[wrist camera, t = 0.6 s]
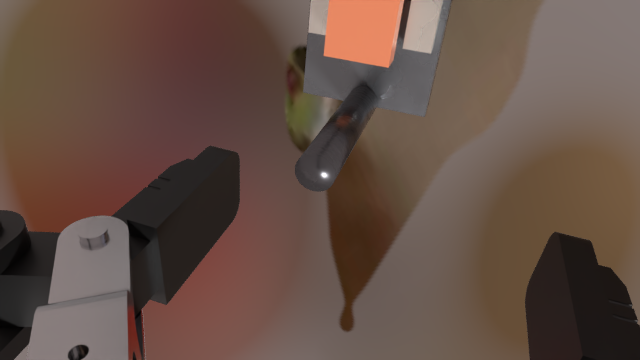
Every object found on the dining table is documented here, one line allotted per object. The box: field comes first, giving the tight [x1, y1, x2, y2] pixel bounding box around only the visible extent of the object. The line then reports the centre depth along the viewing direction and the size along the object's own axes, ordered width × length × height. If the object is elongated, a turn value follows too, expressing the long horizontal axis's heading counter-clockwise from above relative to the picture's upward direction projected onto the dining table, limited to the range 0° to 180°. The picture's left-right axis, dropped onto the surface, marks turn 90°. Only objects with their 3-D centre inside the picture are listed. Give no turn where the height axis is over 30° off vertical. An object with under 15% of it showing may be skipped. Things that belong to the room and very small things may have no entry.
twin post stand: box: [295, 0, 452, 191], centre depth 29 cm, size 16×10×15 cm, turn 175°
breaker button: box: [324, 0, 404, 68], centre depth 31 cm, size 4×4×4 cm
